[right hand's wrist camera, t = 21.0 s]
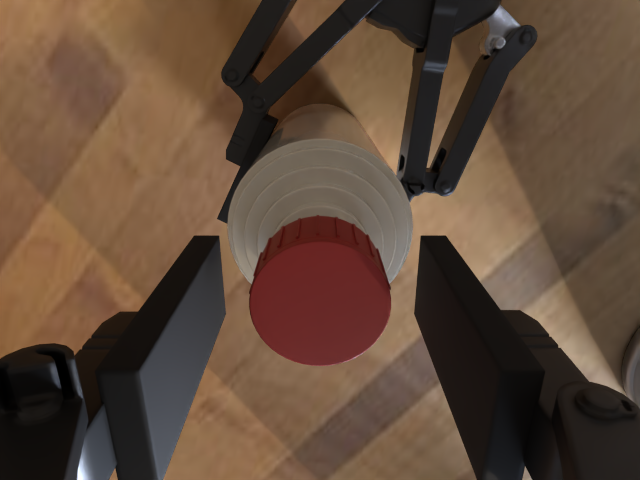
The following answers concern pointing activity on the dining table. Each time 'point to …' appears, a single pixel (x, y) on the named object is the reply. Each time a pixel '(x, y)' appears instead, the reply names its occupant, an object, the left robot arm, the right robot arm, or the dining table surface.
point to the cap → (320, 292)
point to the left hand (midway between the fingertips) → (285, 241)
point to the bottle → (320, 187)
